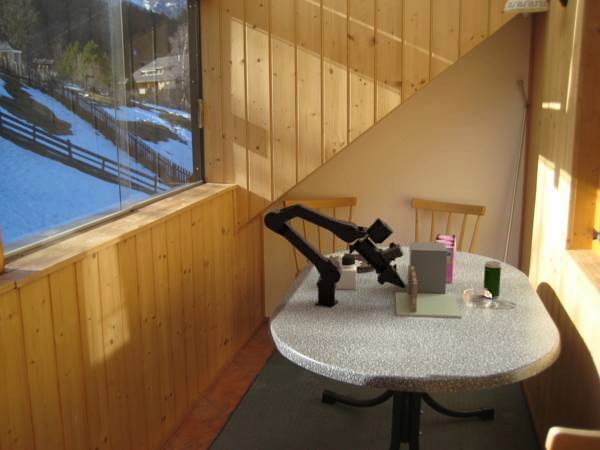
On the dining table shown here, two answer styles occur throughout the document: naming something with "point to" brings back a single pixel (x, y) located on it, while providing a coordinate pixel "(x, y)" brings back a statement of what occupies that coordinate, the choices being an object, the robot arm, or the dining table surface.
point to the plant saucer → (363, 266)
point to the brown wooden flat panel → (413, 290)
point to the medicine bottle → (347, 272)
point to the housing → (428, 283)
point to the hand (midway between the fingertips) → (404, 287)
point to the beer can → (492, 278)
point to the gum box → (448, 254)
